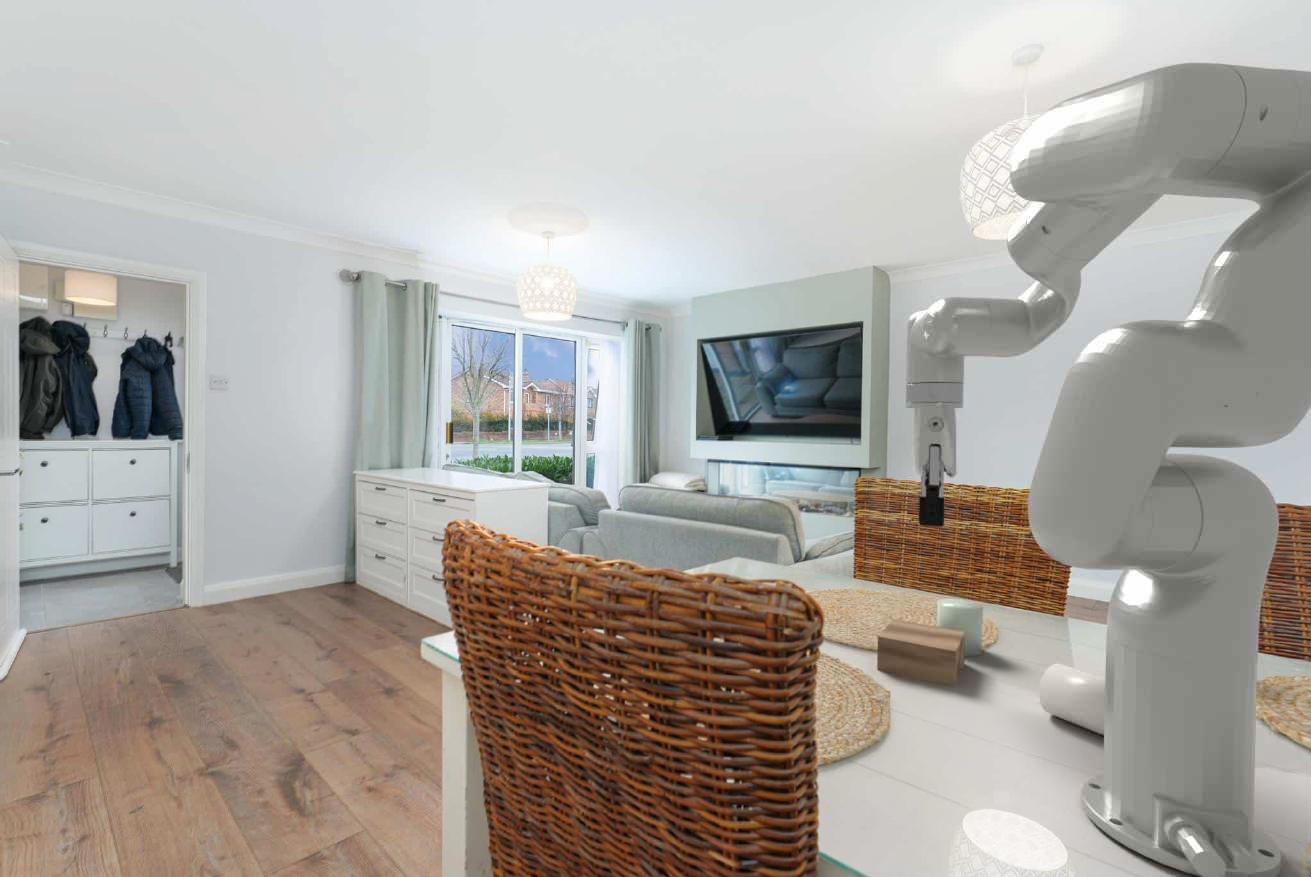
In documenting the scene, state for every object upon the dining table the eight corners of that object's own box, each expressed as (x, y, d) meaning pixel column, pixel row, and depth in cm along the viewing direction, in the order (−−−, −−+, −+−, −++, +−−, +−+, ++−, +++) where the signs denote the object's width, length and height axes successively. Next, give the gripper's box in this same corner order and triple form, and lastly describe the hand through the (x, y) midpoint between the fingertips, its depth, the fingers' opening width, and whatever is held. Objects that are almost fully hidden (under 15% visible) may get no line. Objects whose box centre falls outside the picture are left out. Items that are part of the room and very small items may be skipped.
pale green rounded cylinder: (984, 658, 91) (985, 612, 91) (937, 652, 93) (938, 607, 93) (978, 644, 97) (979, 601, 97) (935, 639, 99) (936, 596, 99)
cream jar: (1054, 724, 73) (1141, 760, 65) (1031, 695, 71) (1118, 729, 63) (1076, 681, 75) (1162, 711, 67) (1054, 652, 73) (1141, 679, 65)
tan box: (954, 688, 80) (955, 651, 80) (877, 671, 86) (877, 636, 86) (964, 665, 88) (965, 631, 88) (893, 651, 94) (893, 619, 94)
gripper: (969, 394, 78) (966, 535, 78) (957, 400, 92) (954, 520, 92) (907, 394, 81) (903, 530, 81) (904, 400, 95) (901, 516, 95)
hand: (930, 524), depth 86 cm, fingers closed
